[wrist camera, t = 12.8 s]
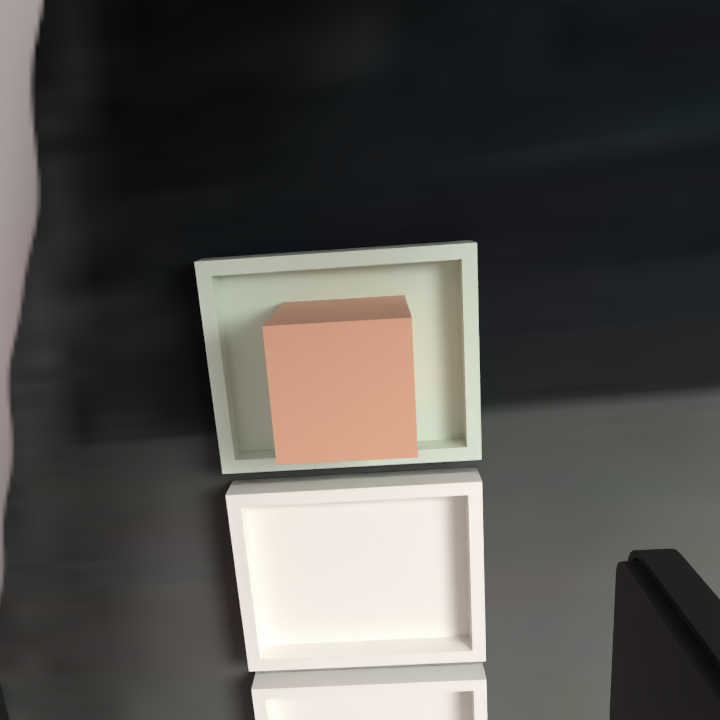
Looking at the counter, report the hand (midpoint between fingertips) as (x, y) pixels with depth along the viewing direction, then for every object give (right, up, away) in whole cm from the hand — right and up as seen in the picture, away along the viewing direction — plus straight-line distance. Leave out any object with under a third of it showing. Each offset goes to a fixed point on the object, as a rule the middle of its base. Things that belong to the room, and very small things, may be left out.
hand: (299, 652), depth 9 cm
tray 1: (0, +4, +18) cm, 18 cm away
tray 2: (+1, -5, +20) cm, 21 cm away
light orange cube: (0, +4, +17) cm, 18 cm away
